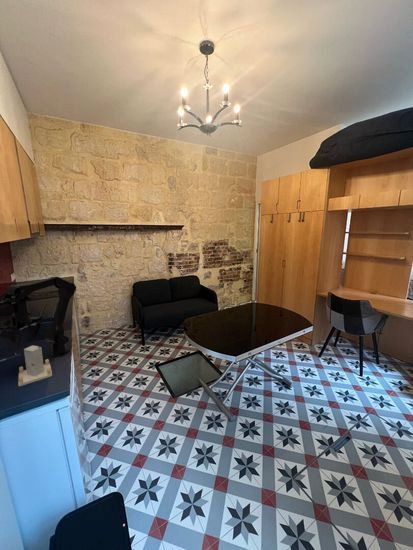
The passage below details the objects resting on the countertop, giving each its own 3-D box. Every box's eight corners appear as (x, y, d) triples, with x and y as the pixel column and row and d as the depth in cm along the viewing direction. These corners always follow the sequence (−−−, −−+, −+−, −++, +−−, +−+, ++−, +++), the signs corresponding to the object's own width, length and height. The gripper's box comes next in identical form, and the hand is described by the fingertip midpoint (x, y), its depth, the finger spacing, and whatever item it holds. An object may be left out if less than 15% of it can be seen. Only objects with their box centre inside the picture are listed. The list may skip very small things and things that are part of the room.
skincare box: (26, 374, 107) (22, 349, 105) (36, 368, 111) (32, 344, 109) (35, 376, 104) (31, 351, 102) (45, 371, 109) (41, 346, 107)
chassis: (19, 373, 109) (18, 367, 108) (50, 364, 116) (49, 358, 115) (18, 386, 99) (17, 379, 99) (52, 375, 106) (51, 368, 106)
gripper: (20, 306, 117) (25, 335, 120) (-16, 319, 99) (-9, 353, 102) (41, 305, 117) (46, 335, 120) (10, 318, 99) (15, 353, 101)
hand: (26, 343), depth 111 cm, fingers open, 9 cm apart
